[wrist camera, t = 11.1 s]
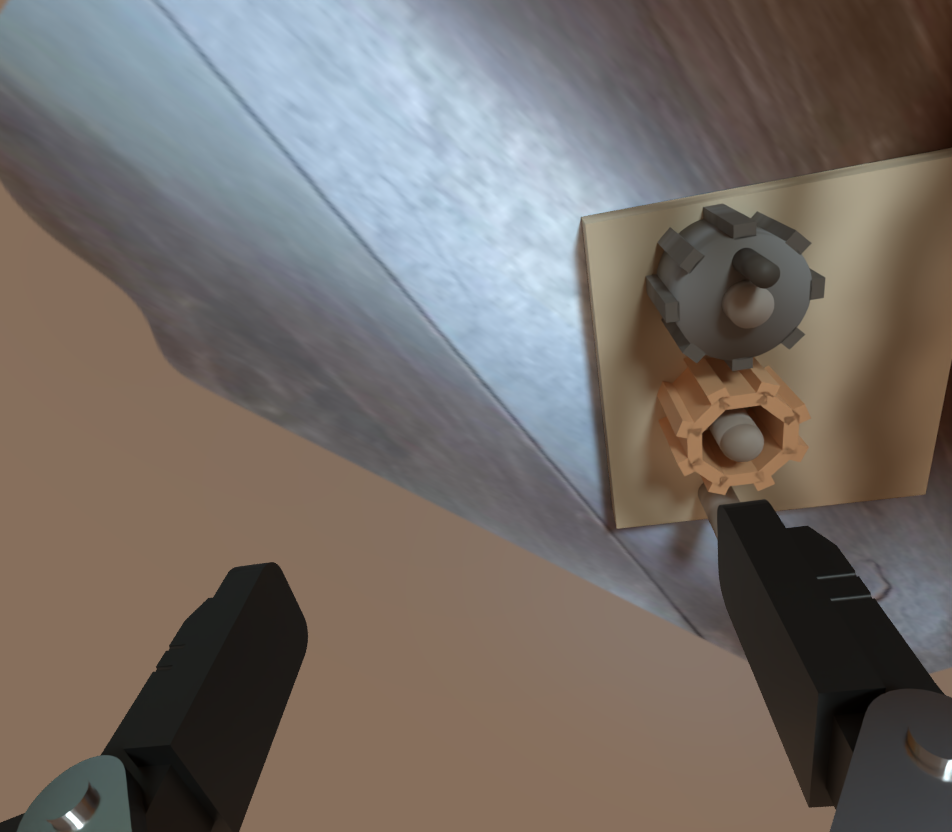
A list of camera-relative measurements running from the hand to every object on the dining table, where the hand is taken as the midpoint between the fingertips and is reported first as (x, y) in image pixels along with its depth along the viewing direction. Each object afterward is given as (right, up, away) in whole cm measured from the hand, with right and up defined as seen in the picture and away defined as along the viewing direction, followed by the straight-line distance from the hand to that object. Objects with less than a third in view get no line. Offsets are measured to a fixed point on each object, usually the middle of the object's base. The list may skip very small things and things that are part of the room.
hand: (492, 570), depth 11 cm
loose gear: (+13, +4, +22) cm, 26 cm away
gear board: (+16, +6, +23) cm, 28 cm away
